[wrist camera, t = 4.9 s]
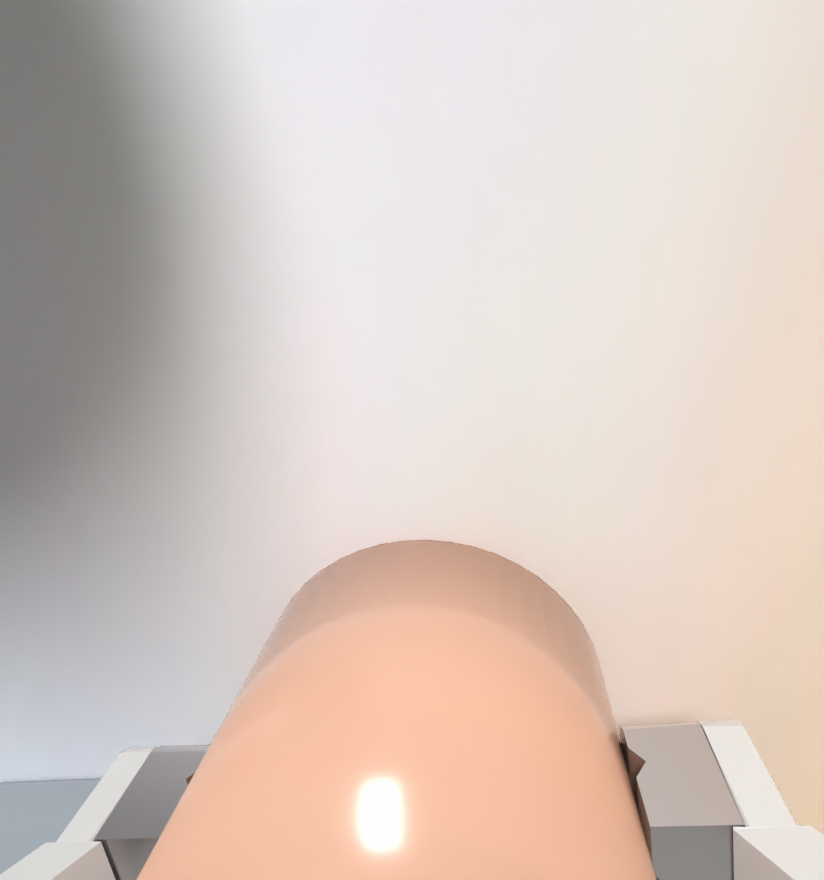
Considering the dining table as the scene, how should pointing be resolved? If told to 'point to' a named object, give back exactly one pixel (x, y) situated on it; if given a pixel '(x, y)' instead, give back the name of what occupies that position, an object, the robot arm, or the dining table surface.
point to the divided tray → (37, 814)
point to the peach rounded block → (414, 737)
